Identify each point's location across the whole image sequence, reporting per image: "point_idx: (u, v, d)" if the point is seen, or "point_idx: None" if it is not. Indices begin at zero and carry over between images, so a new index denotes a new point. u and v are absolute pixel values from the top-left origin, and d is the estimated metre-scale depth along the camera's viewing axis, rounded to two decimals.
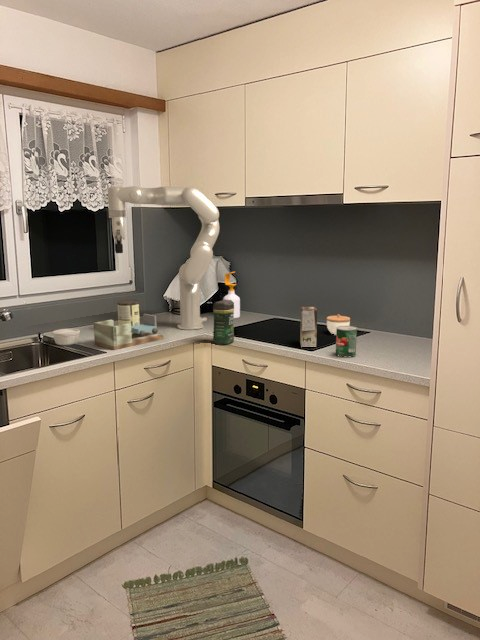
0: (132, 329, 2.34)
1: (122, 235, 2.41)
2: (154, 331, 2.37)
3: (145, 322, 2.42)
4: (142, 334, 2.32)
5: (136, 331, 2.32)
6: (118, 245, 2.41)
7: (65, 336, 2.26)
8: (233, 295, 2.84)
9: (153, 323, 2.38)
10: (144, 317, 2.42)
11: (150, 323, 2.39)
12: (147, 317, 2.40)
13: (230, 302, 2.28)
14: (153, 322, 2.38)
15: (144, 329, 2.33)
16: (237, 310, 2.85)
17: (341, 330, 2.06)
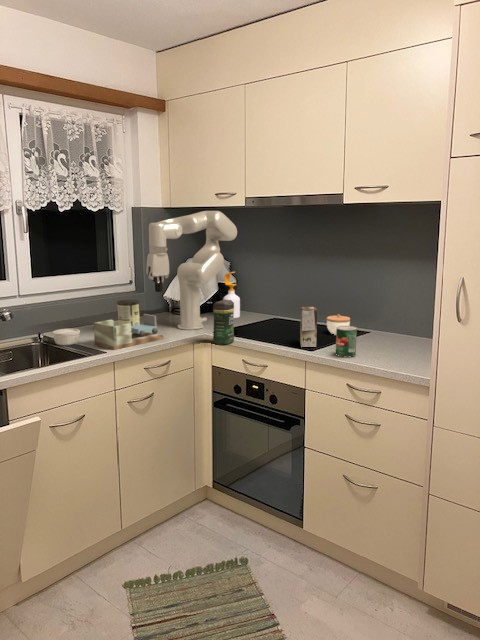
0: (132, 329, 2.34)
1: None
2: (154, 331, 2.37)
3: (145, 322, 2.42)
4: (142, 334, 2.32)
5: (136, 331, 2.32)
6: None
7: (65, 336, 2.26)
8: (233, 295, 2.84)
9: (153, 323, 2.38)
10: (144, 317, 2.42)
11: (150, 323, 2.39)
12: (147, 317, 2.40)
13: (230, 302, 2.28)
14: (153, 322, 2.38)
15: (144, 329, 2.33)
16: (237, 310, 2.85)
17: (341, 330, 2.06)
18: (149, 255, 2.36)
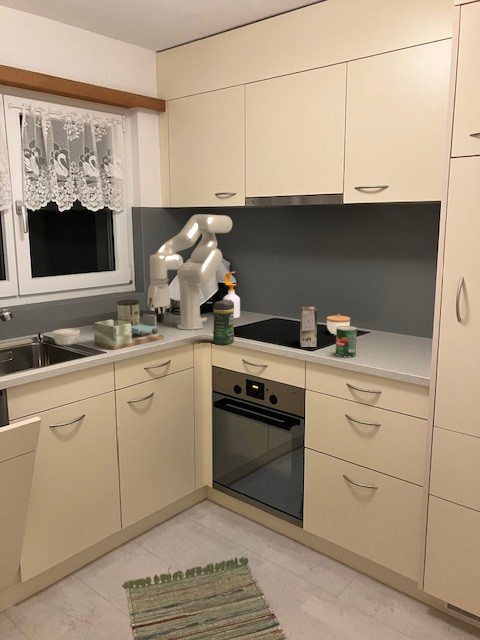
0: (132, 329, 2.34)
1: None
2: (154, 331, 2.37)
3: (145, 322, 2.42)
4: (142, 334, 2.32)
5: (136, 331, 2.32)
6: None
7: (65, 336, 2.26)
8: (233, 295, 2.84)
9: (153, 323, 2.38)
10: (144, 317, 2.42)
11: (150, 323, 2.39)
12: (147, 317, 2.40)
13: (230, 302, 2.28)
14: (153, 322, 2.38)
15: (144, 329, 2.33)
16: (237, 310, 2.85)
17: (341, 330, 2.06)
18: (150, 287, 2.39)
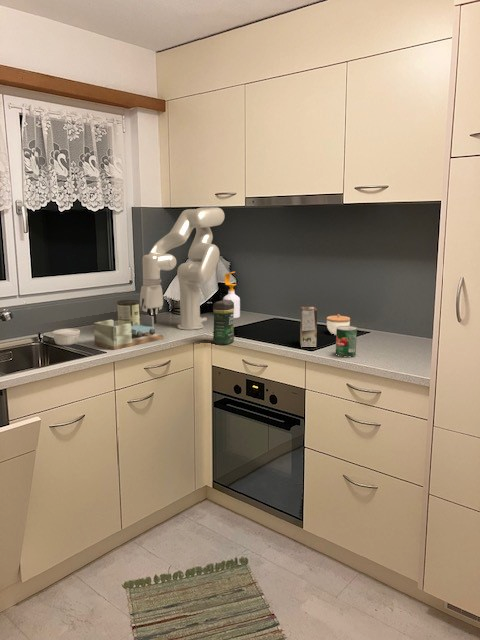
0: None
1: None
2: (151, 332, 2.35)
3: (142, 322, 2.41)
4: (139, 335, 2.31)
5: (133, 332, 2.31)
6: None
7: (65, 336, 2.26)
8: (233, 295, 2.84)
9: (150, 324, 2.37)
10: (141, 317, 2.41)
11: (147, 323, 2.38)
12: (145, 317, 2.39)
13: (230, 302, 2.28)
14: (150, 322, 2.37)
15: (141, 330, 2.32)
16: (237, 310, 2.85)
17: (341, 330, 2.06)
18: (143, 287, 2.35)
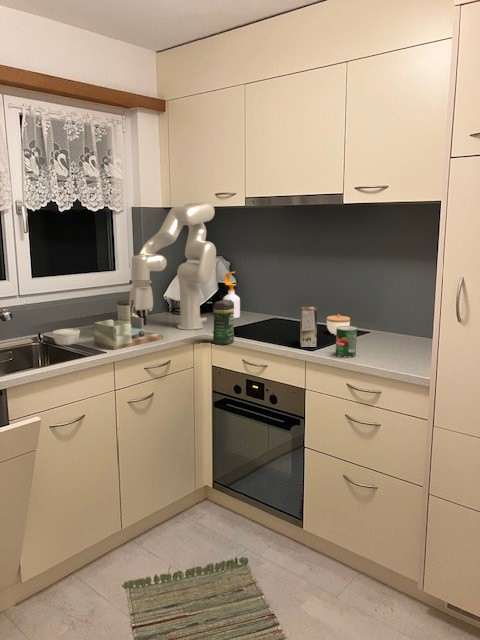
0: None
1: None
2: (141, 334, 2.31)
3: (132, 324, 2.36)
4: None
5: None
6: None
7: (65, 336, 2.26)
8: (233, 295, 2.84)
9: (140, 326, 2.33)
10: (131, 319, 2.36)
11: (137, 325, 2.34)
12: (134, 319, 2.35)
13: (230, 302, 2.28)
14: (140, 324, 2.33)
15: None
16: (237, 310, 2.85)
17: (341, 330, 2.06)
18: (132, 289, 2.31)
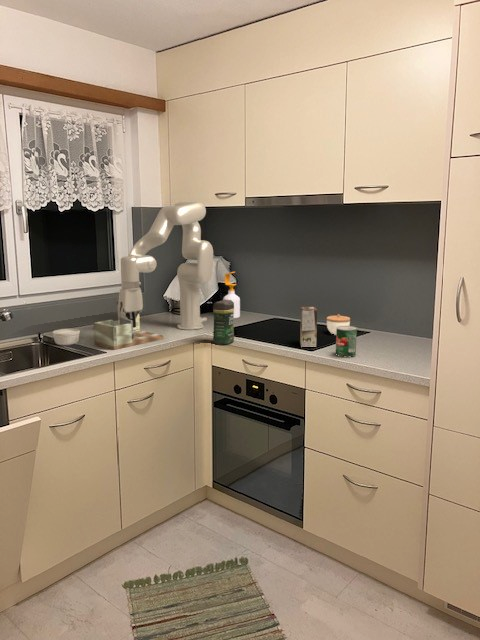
0: None
1: None
2: None
3: None
4: None
5: None
6: None
7: (65, 336, 2.26)
8: (233, 295, 2.84)
9: None
10: (120, 321, 2.32)
11: None
12: (123, 321, 2.31)
13: (230, 302, 2.28)
14: None
15: None
16: (237, 310, 2.85)
17: (341, 330, 2.06)
18: (121, 290, 2.27)
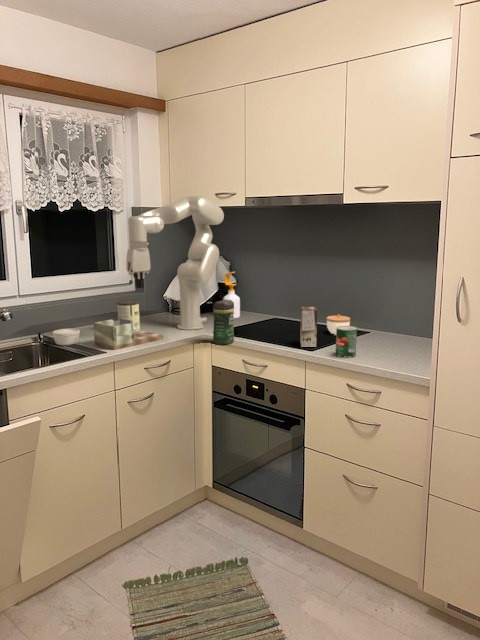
0: None
1: None
2: None
3: None
4: None
5: None
6: None
7: (65, 336, 2.26)
8: (233, 295, 2.84)
9: None
10: (120, 321, 2.32)
11: None
12: (123, 321, 2.31)
13: (230, 302, 2.28)
14: None
15: None
16: (237, 310, 2.85)
17: (341, 330, 2.06)
18: (129, 250, 2.27)
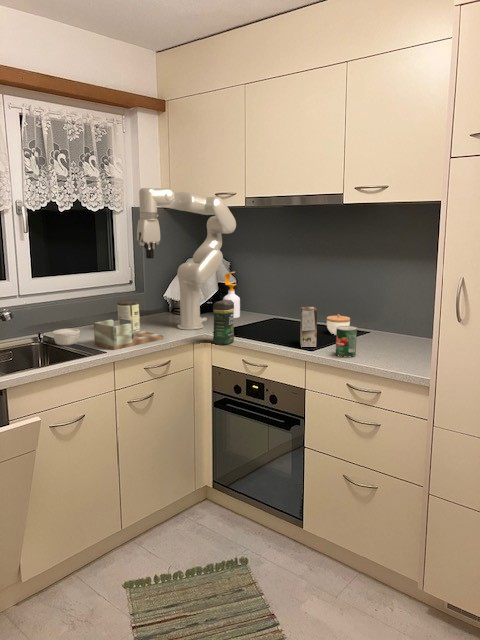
0: None
1: None
2: None
3: None
4: None
5: None
6: None
7: (65, 336, 2.26)
8: (233, 295, 2.84)
9: None
10: (120, 321, 2.32)
11: None
12: (123, 321, 2.31)
13: (230, 302, 2.28)
14: None
15: None
16: (237, 310, 2.85)
17: (341, 330, 2.06)
18: (140, 221, 2.34)
